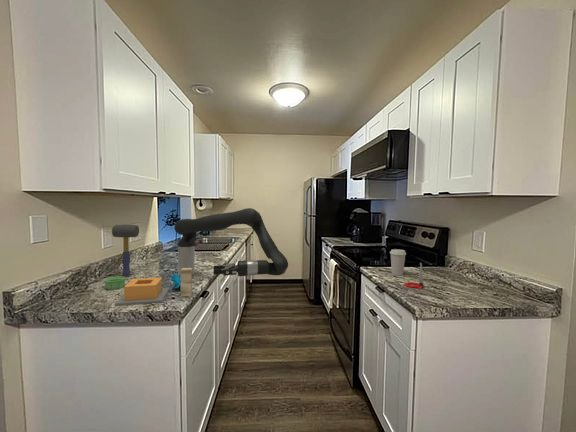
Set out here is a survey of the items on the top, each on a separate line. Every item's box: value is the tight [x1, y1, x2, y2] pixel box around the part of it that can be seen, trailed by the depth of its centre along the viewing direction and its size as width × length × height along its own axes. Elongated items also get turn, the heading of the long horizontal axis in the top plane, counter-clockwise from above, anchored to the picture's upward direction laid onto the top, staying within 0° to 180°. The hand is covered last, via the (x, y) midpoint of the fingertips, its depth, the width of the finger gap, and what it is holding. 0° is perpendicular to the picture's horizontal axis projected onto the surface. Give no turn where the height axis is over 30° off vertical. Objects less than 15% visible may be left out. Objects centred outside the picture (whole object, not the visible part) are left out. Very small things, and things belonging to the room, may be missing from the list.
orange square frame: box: [114, 277, 170, 307], centre depth 125 cm, size 18×18×7 cm
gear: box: [170, 273, 181, 290], centre depth 138 cm, size 11×6×10 cm
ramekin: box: [104, 275, 126, 290], centre depth 139 cm, size 9×9×4 cm
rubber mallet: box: [111, 224, 140, 278], centre depth 159 cm, size 12×8×30 cm, turn 98°
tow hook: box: [403, 262, 425, 290], centre depth 148 cm, size 8×13×9 cm
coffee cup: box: [389, 248, 407, 276], centre depth 173 cm, size 10×10×15 cm
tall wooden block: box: [180, 268, 193, 297], centre depth 129 cm, size 4×4×12 cm
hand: (213, 269), depth 132 cm, fingers open, 8 cm apart
